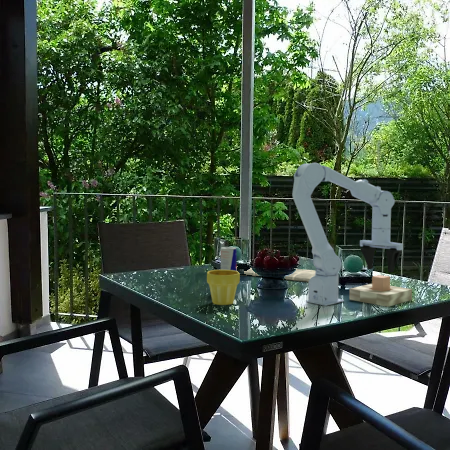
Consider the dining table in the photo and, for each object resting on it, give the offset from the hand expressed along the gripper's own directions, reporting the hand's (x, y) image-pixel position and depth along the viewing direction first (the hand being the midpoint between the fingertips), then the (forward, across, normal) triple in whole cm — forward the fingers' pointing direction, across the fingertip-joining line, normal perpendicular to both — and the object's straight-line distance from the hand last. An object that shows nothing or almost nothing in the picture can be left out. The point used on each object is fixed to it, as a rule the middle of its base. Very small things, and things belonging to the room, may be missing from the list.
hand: (380, 270), depth 179 cm
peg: (+9, 0, 0) cm, 9 cm away
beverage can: (+10, +44, +25) cm, 52 cm away
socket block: (+9, 0, 0) cm, 9 cm away
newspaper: (+10, +54, -11) cm, 56 cm away
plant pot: (+10, +30, +40) cm, 51 cm away
